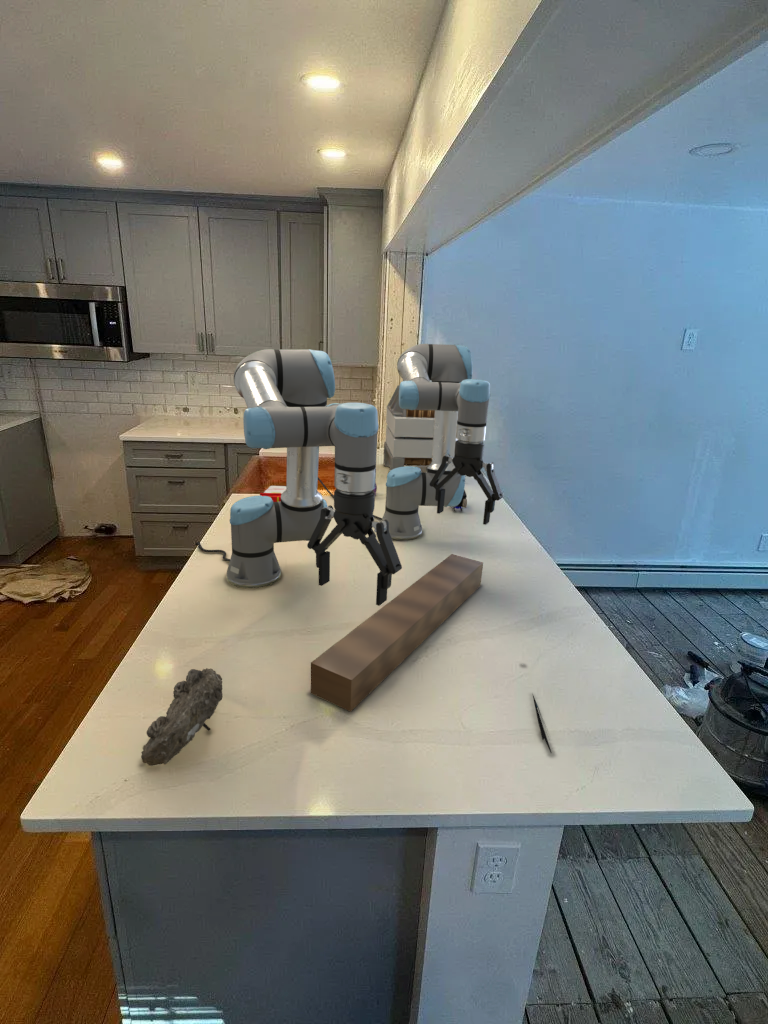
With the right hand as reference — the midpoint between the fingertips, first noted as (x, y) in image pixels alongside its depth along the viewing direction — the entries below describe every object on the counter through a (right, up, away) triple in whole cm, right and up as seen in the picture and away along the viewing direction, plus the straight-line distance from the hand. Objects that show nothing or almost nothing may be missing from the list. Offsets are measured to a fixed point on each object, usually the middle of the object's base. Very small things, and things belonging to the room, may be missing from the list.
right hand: (462, 517), depth 154 cm
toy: (-60, -1, +55) cm, 82 cm away
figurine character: (+8, +3, +75) cm, 76 cm away
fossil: (-57, -39, -49) cm, 85 cm away
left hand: (-28, -14, -43) cm, 53 cm away
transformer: (-4, +20, +121) cm, 123 cm away
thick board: (-15, -28, -14) cm, 34 cm away
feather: (+9, -38, -39) cm, 55 cm away
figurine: (-29, +8, +85) cm, 90 cm away
